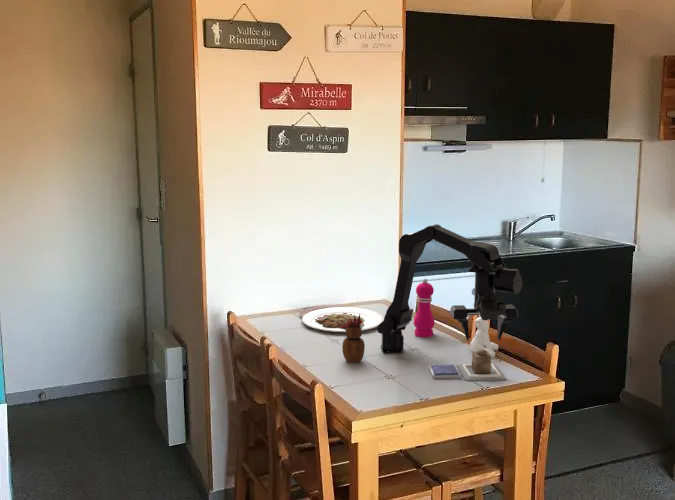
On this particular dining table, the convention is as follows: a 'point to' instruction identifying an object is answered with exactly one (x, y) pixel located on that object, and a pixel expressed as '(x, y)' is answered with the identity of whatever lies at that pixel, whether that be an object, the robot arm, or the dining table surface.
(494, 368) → the board
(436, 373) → the ink pad
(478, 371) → the stamp
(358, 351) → the wooden figurine
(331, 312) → the plated food
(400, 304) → the robot arm
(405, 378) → the dining table surface
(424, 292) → the pepper mill
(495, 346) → the seated beast figurine
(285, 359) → the dining table surface
